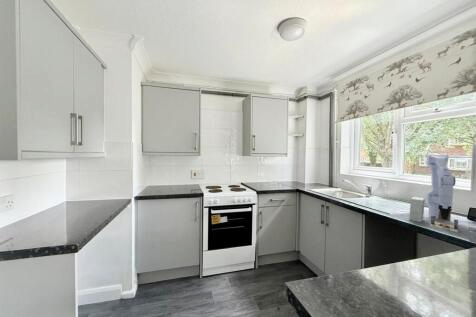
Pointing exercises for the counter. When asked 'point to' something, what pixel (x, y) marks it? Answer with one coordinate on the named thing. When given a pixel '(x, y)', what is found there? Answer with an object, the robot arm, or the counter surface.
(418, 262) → the counter surface
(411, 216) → the skincare box
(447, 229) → the peg
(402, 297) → the counter surface
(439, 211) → the brown small block
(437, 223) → the board
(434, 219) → the wire gate
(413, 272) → the counter surface
